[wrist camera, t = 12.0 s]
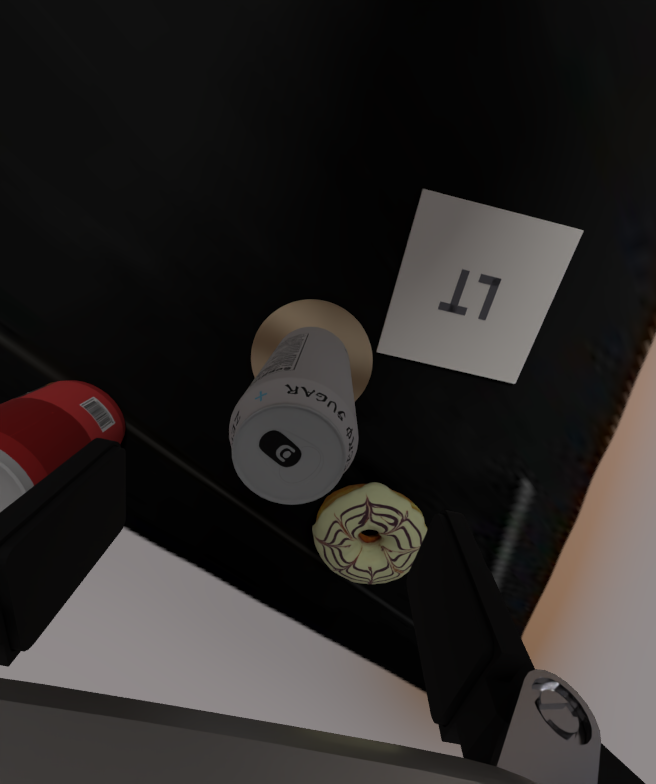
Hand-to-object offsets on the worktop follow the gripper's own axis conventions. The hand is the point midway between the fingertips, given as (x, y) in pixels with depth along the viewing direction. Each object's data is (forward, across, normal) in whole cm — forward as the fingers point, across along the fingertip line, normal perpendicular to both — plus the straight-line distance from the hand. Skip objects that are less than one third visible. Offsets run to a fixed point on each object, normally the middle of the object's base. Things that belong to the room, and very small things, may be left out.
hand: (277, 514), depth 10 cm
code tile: (+20, -11, -6) cm, 24 cm away
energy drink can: (+19, 0, +2) cm, 19 cm away
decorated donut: (+20, -9, +17) cm, 27 cm away
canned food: (+20, +19, +12) cm, 30 cm away
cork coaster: (+20, 0, +2) cm, 20 cm away
